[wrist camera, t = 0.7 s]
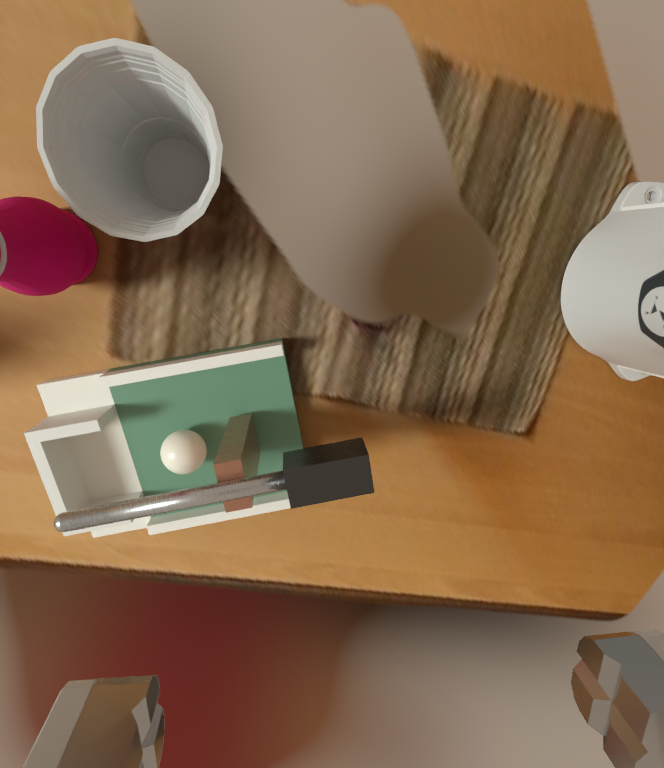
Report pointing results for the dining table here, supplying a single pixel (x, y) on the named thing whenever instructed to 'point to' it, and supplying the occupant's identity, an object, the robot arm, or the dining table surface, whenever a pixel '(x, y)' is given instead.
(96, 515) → the kicker rod
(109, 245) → the dining table surface
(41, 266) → the pepper mill
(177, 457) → the ball
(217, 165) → the plastic cup
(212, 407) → the pitch
